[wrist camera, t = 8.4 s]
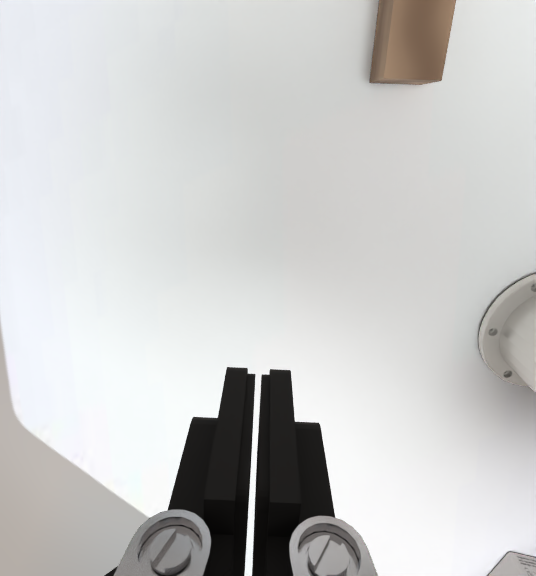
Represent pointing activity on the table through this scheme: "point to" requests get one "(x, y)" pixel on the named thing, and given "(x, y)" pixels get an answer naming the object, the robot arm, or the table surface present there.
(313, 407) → the table surface
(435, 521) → the table surface
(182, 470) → the robot arm
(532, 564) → the cereal box
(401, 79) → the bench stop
